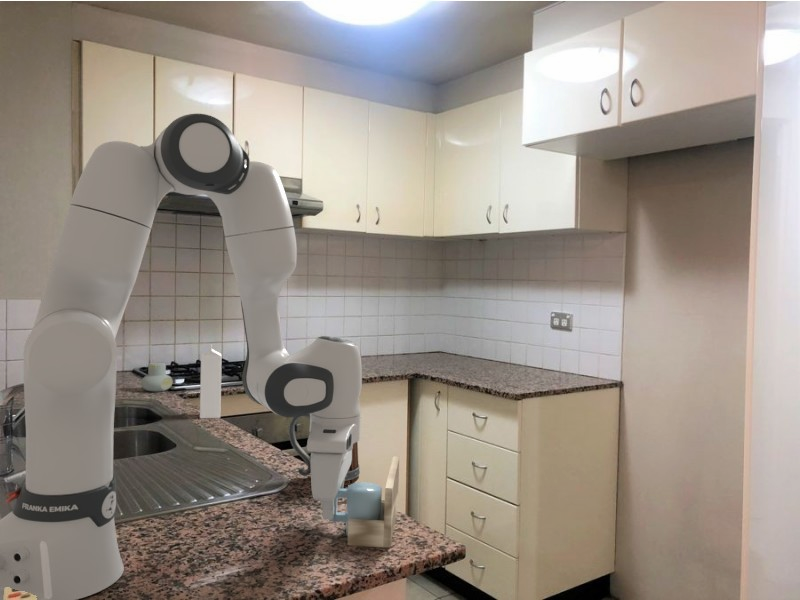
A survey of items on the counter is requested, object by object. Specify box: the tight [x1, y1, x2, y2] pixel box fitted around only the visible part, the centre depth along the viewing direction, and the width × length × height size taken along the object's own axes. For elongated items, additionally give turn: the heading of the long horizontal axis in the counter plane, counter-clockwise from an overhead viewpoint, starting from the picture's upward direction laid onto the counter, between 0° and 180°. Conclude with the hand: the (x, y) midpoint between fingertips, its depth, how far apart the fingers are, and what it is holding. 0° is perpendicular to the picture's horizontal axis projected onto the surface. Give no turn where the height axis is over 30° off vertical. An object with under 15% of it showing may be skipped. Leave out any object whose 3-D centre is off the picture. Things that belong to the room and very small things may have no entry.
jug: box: [328, 481, 383, 537], centre depth 107 cm, size 9×6×8 cm, turn 86°
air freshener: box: [140, 361, 174, 393], centre depth 224 cm, size 11×8×10 cm
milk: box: [199, 343, 223, 419], centre depth 188 cm, size 6×6×22 cm
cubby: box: [347, 455, 400, 549], centre depth 111 cm, size 7×18×10 cm, turn 176°
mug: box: [288, 414, 360, 487], centre depth 134 cm, size 16×11×15 cm
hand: (333, 507), depth 107 cm, fingers open, 8 cm apart
